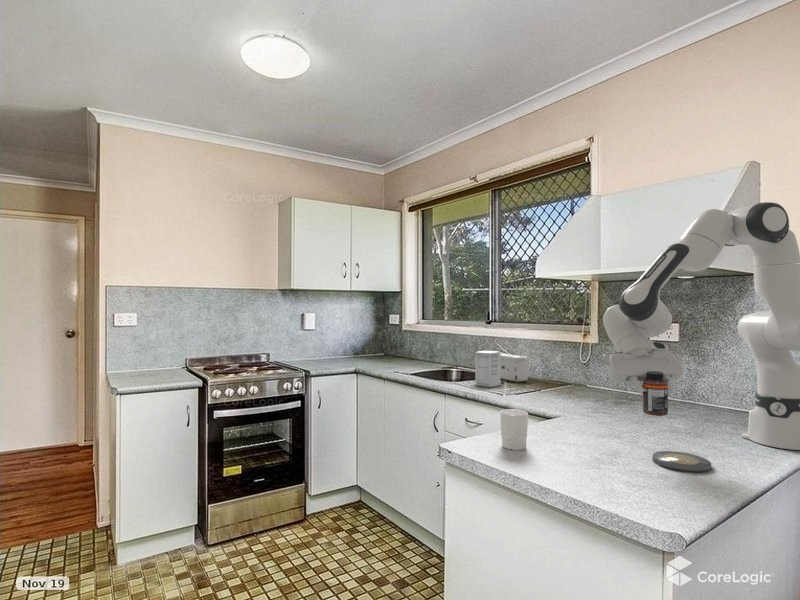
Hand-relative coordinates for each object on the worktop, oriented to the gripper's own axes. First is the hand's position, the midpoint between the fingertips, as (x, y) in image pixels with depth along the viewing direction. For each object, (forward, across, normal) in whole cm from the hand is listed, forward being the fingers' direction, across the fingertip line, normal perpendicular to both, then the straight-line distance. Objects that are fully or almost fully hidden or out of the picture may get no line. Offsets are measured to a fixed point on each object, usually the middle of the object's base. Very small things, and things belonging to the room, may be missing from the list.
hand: (656, 392), depth 127 cm
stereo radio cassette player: (-77, +1, +102) cm, 128 cm away
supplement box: (-66, -15, +90) cm, 113 cm away
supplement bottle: (+4, 0, +5) cm, 6 cm away
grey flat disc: (+16, +3, +9) cm, 19 cm away
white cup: (+3, -36, +21) cm, 41 cm away
